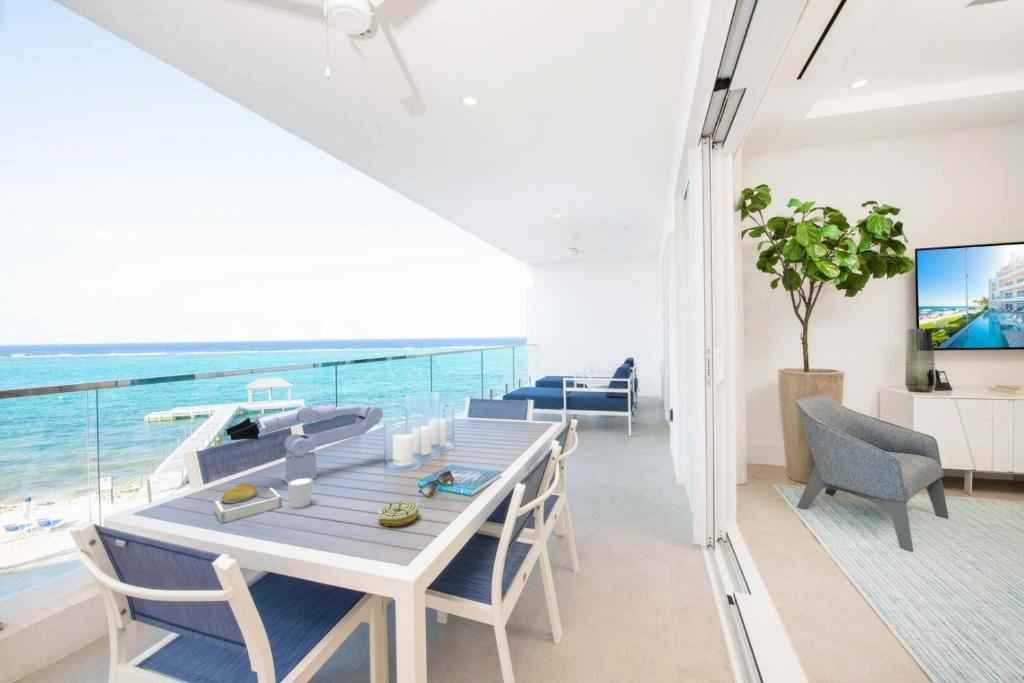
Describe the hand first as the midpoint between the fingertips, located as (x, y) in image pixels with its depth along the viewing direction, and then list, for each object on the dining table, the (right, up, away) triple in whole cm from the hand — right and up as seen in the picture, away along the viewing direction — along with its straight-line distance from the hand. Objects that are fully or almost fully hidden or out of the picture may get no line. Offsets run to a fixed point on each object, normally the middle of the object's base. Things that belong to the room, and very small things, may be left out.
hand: (228, 434), depth 124 cm
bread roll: (+6, -20, -3) cm, 21 cm away
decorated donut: (+61, -20, -18) cm, 66 cm away
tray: (+14, -20, -11) cm, 26 cm away
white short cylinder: (+28, -20, -7) cm, 35 cm away
